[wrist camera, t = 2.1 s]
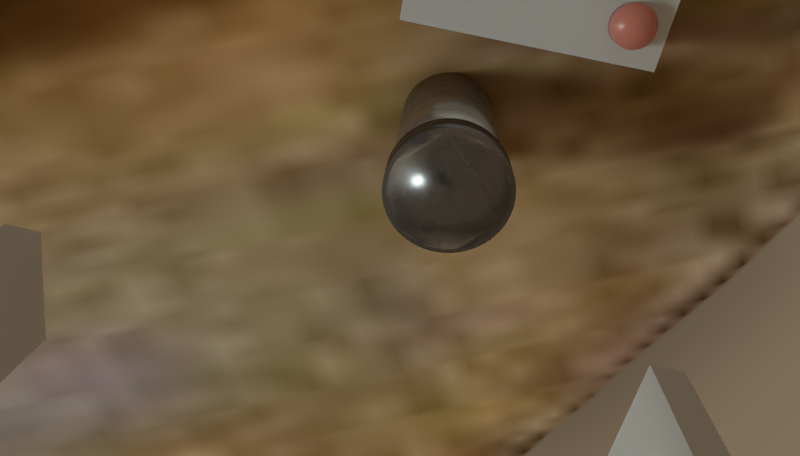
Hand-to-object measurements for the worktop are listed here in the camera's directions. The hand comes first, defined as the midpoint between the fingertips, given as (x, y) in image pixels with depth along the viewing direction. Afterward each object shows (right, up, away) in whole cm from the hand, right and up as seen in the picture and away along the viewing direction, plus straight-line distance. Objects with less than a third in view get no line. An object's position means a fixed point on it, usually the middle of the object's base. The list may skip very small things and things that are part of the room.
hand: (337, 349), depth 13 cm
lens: (+4, +8, +18) cm, 20 cm away
